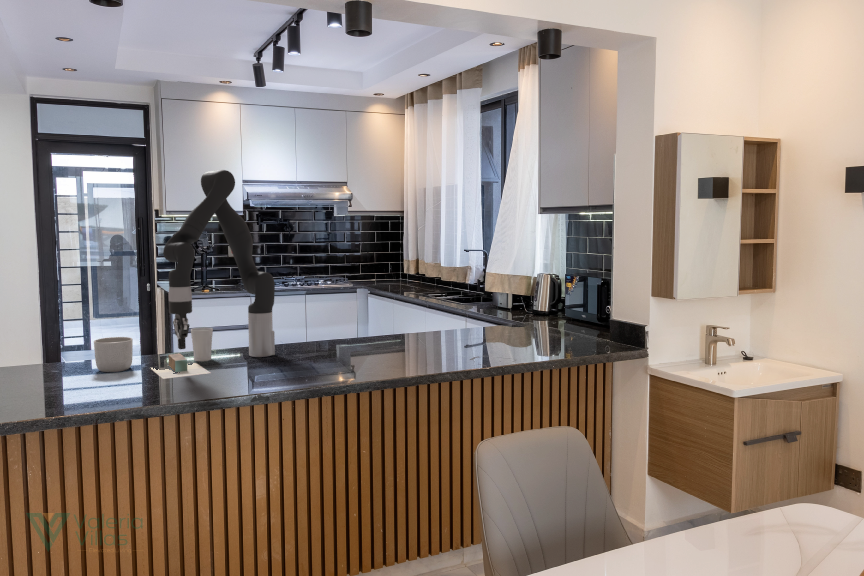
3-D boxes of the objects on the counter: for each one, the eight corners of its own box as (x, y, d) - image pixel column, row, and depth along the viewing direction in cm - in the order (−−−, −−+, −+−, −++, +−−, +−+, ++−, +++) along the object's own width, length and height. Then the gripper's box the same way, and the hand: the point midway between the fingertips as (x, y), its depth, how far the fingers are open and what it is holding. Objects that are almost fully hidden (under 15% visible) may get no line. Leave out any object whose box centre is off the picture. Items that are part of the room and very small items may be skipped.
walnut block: (187, 370, 235) (180, 364, 243) (187, 359, 235) (179, 353, 243) (175, 372, 233) (168, 365, 241) (175, 361, 232) (168, 354, 240)
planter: (114, 375, 228) (113, 343, 227) (86, 372, 233) (85, 341, 232) (141, 368, 240) (140, 338, 239) (114, 365, 244) (113, 335, 243)
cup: (206, 362, 250) (205, 331, 249) (187, 361, 252) (186, 330, 250) (217, 358, 258) (216, 327, 257) (198, 357, 259) (197, 326, 258)
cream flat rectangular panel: (195, 363, 248) (195, 362, 248) (211, 373, 232) (211, 373, 232) (149, 368, 239) (149, 367, 239) (162, 379, 223) (162, 378, 223)
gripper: (196, 300, 227) (198, 350, 229) (186, 297, 238) (187, 344, 240) (173, 302, 223) (175, 353, 225) (164, 298, 234) (166, 346, 236)
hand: (181, 348), depth 232 cm, fingers closed
